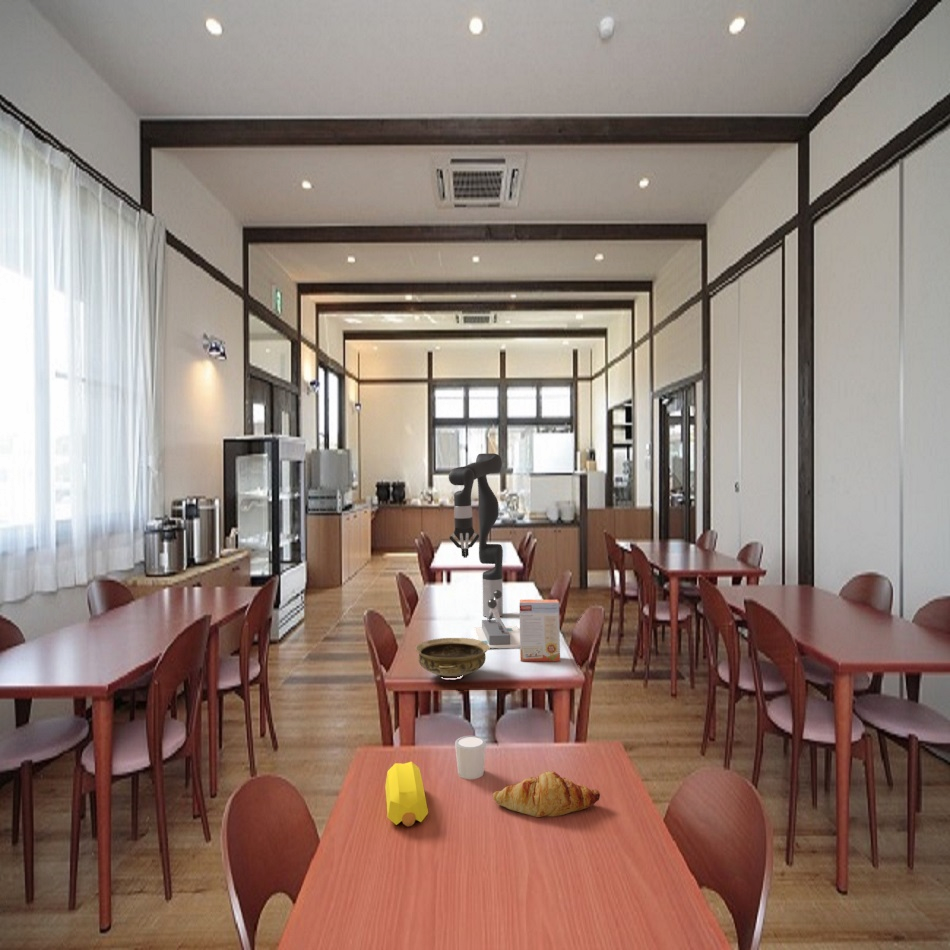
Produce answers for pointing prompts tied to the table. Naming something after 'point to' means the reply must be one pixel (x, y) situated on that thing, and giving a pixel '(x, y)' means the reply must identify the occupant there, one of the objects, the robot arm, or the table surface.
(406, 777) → the yellow faceted prism
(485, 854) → the table surface
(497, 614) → the lever outer
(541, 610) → the cracker box
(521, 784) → the croissant
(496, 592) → the lever inner
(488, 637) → the switch unit
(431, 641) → the ceramic bowl
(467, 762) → the shot glass
